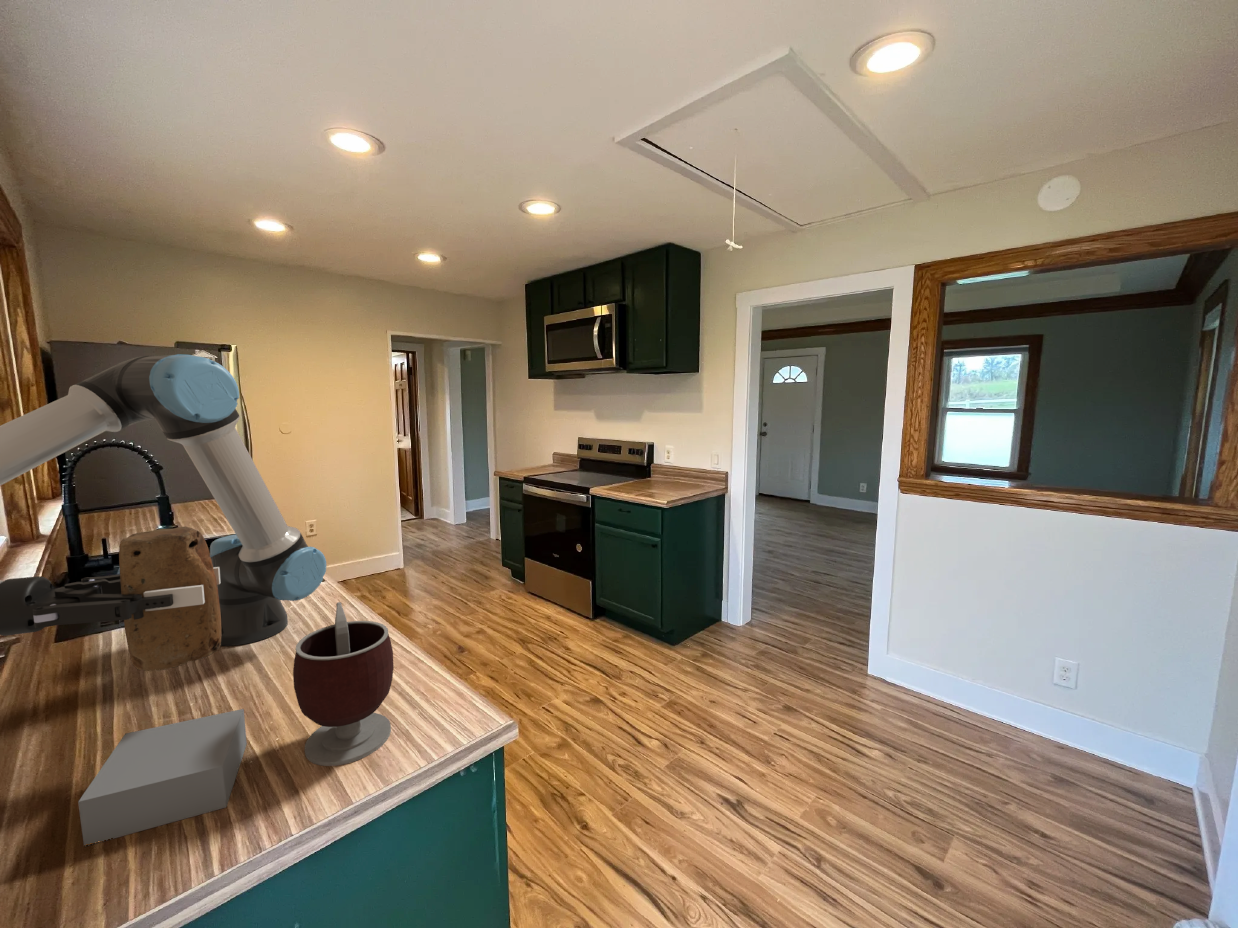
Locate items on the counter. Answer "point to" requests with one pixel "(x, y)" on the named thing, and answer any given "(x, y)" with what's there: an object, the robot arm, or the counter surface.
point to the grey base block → (164, 776)
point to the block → (165, 566)
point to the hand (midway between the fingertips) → (211, 584)
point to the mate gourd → (344, 688)
